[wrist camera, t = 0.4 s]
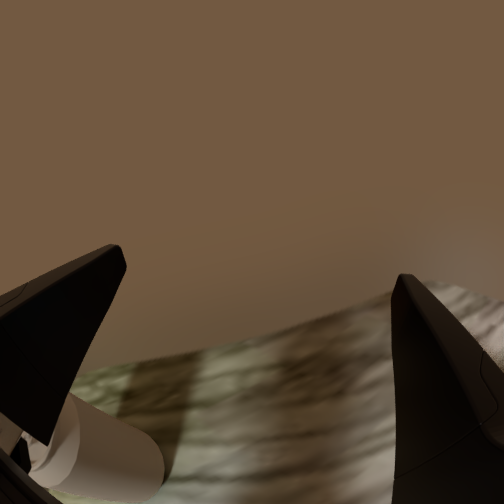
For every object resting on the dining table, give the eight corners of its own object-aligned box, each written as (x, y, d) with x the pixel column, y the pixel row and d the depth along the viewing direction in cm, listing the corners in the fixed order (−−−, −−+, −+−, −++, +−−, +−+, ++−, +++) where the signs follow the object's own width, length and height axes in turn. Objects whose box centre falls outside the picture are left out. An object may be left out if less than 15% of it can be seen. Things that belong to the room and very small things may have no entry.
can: (143, 415, 21) (46, 351, 13) (186, 479, 16) (74, 451, 8) (92, 452, 18) (-9, 402, 10) (126, 515, 13) (8, 493, 5)
